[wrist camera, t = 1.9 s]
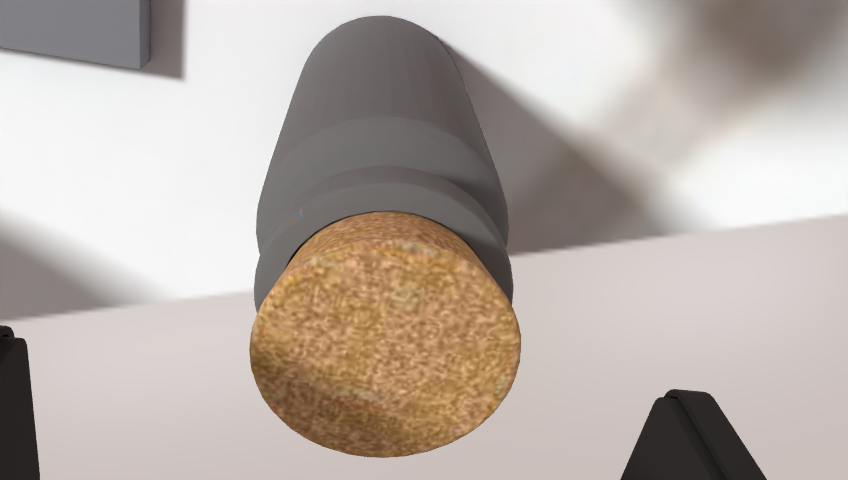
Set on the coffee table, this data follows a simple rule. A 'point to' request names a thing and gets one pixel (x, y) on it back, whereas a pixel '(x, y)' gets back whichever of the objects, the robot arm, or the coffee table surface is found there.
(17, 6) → the mat
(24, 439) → the robot arm
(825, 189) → the coffee table surface
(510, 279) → the bottle
